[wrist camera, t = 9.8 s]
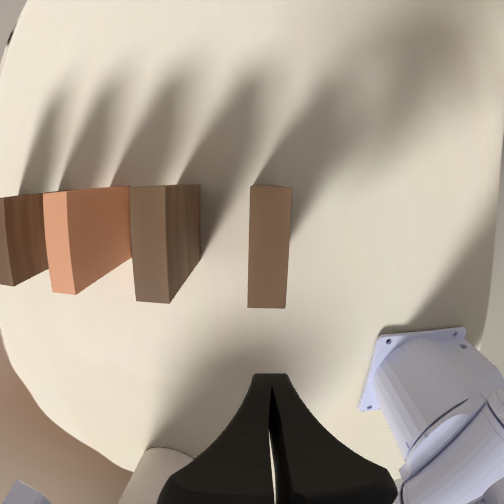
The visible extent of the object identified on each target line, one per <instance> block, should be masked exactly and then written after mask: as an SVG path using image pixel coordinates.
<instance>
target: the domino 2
mask: <svg viewBox="0 0 504 504" xmlns="http://www.w3.org/2000/svg"><path fill="white" fill-rule="evenodd" d="M43 210H44V227H45V239H46V249H47V257H48V265H49V272H50V279H51V285H52V290H53V292H57V293H65V294H72V295H76V294H78V293H79V292H81V291H82V290H84V289H85V288H86V287H88V286H89V285H91V284H92V283H94V282H95V281H97V280H98V279H100V278H101V277H103V276H104V275H106V274H107V273H109V272H110V271H112V270H113V269H115V268H116V267H118V266H119V265H121V264H122V263H124V262H125V261H127V260H128V259H130V258H132V253H131V235H130V204H129V186H123V187H105V188H93V189H82V190H72V191H62V192H53V193H45V194H43Z"/></svg>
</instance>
